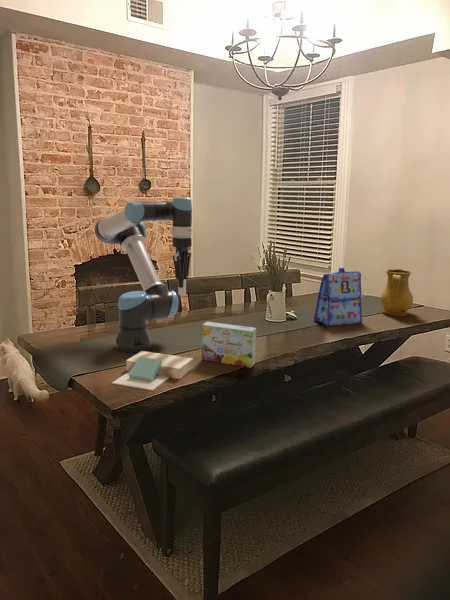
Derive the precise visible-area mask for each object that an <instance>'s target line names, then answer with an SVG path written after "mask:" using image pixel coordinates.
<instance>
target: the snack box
mask: <svg viewBox="0 0 450 600" xmlns="http://www.w3.org/2000/svg"><path fill="white" fill-rule="evenodd" d="M256 347H257V328H256V327H251V326H246V325H245V326H244V325H237V324H236V325H234V324H231V323H230V324H229V323H222V322H214V321H206V322H204V323H203V324H201V360H202V361H208V362H215V363H221V364H227V365H231V364H232V365H233V366H237V365H241V366H240V367H244V366H247V367H246V368H252V367H254V365H255V364H256V351H257V349H256Z"/></svg>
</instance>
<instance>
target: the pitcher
mask: <svg viewBox="0 0 450 600" xmlns="http://www.w3.org/2000/svg"><path fill="white" fill-rule="evenodd" d="M385 273H386V274H387V282H386V286H385V288H384V289H383V291H382V293H381V294H380V300H379V301H380V305H381V307H382V308H383V309H384V311H383V313H384V314H386V315H388V316H389V315H390V316H393V317H394V316H395V317H407V316H408V315H409V314H408V313H407V311H409V310H411V309H412V306H413V304H414V303H413V302H414V295H413V293H412V292H411V290H410V288H409V287H410V286H409V278H410V276H411V274H412V271H411V270H405V269H403V268H393V269H392V268H391V269H390V268H388V269H385Z"/></svg>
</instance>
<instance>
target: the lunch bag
mask: <svg viewBox="0 0 450 600" xmlns="http://www.w3.org/2000/svg"><path fill="white" fill-rule="evenodd" d="M320 281H321V282H320V285H319V290H318V295H317V301H316V304H315V305H316V307H315V311H314V315H313V321H314V322H319V323H322V324H323V325H325V326H326V327H334V326H344V325H350V324H351V325H353V324H354V325H355V324H361V323H362V322H363V313H362V273H361V272H360V271H357V270H355V271H354V270H350V271H345V268H344V267H339V268H338V271H337V272H330V273H325V274H323V275H322V278H321V280H320Z"/></svg>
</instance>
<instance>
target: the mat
mask: <svg viewBox="0 0 450 600" xmlns="http://www.w3.org/2000/svg"><path fill="white" fill-rule="evenodd" d="M129 373H130V371H127V372H126V373H124V374H123V375H122V376H120V377H118V378H116V380H114V381H112V382H111V384H112V385H118V386H124V387H130V388H135V389H142V390H147V391H154V390H156V389H157V388H159V386H161V385H162V384H164V383H165V382H166V381H168V380H169V377H163V376H157V375H155V377H154V379H153V381H152V382H151V381H145V380H139V379H133V378H129V375H128V374H129Z"/></svg>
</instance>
